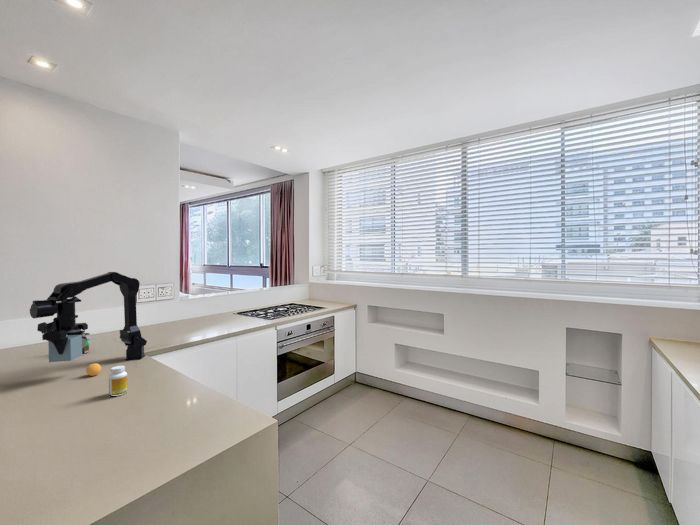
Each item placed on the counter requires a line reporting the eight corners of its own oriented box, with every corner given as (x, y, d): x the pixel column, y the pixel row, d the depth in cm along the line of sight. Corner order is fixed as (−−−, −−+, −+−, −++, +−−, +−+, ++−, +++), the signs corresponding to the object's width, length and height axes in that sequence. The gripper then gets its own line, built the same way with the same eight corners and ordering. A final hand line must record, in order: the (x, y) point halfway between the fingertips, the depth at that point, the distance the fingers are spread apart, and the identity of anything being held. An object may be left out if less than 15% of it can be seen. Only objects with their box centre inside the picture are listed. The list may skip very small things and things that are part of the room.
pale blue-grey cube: (82, 355, 134) (81, 334, 134) (71, 360, 127) (70, 339, 127) (61, 356, 133) (60, 335, 133) (48, 362, 125) (48, 340, 125)
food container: (98, 351, 168) (97, 332, 168) (87, 354, 162) (86, 335, 162) (77, 350, 169) (76, 332, 169) (65, 354, 163) (65, 335, 163)
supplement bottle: (131, 392, 115) (130, 365, 115) (116, 398, 110) (115, 370, 110) (120, 390, 117) (120, 364, 117) (105, 396, 112) (104, 369, 112)
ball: (96, 359, 134) (87, 368, 134) (89, 363, 130) (80, 372, 129) (106, 366, 135) (97, 375, 135) (99, 370, 130) (90, 380, 130)
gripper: (58, 311, 137) (59, 346, 137) (25, 319, 119) (26, 360, 119) (88, 310, 139) (89, 344, 140) (59, 317, 121) (60, 357, 122)
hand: (67, 351), depth 130 cm, fingers closed on pale blue-grey cube, 7 cm apart
